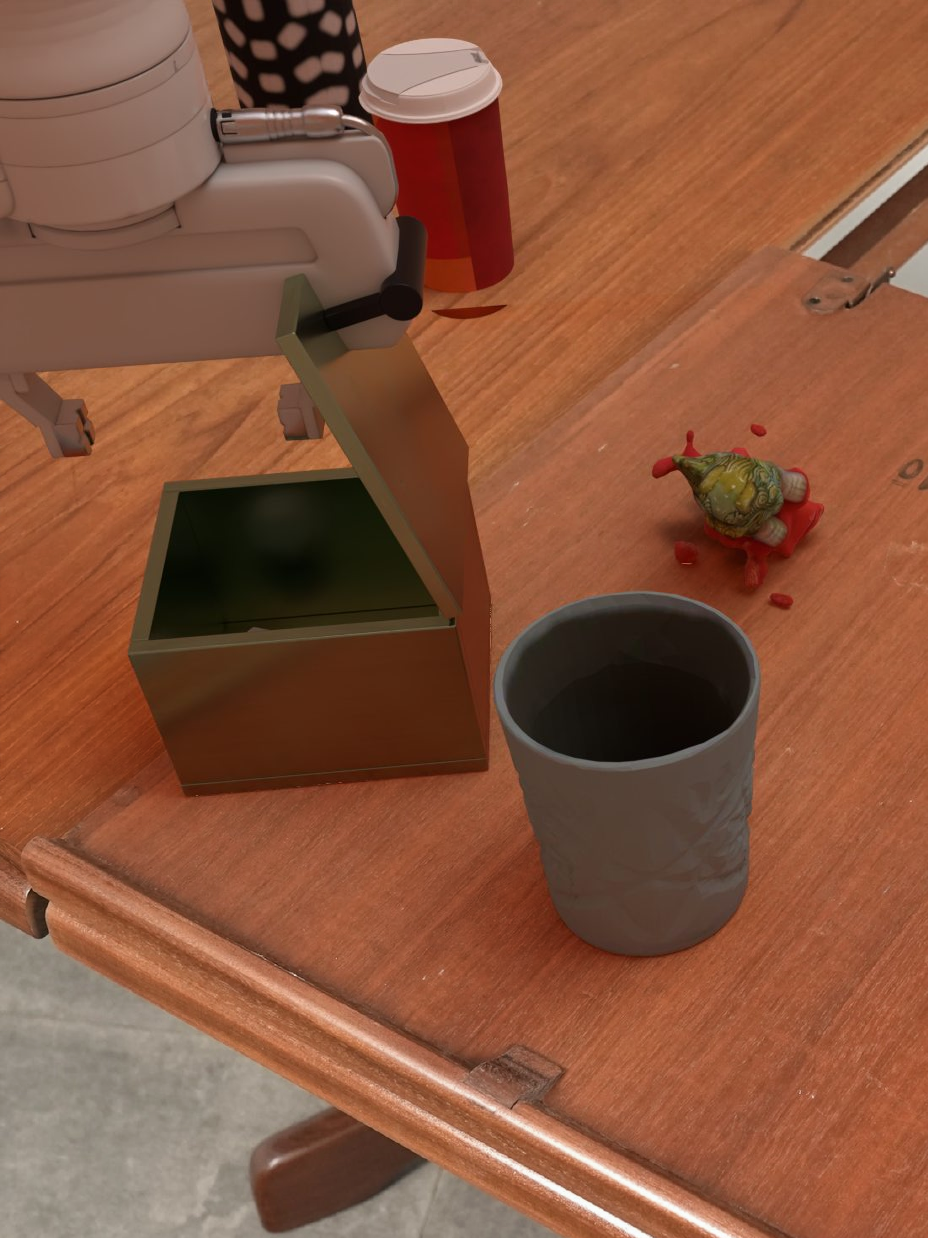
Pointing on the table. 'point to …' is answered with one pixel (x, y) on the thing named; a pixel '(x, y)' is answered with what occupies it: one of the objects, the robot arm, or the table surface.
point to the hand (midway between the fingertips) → (191, 440)
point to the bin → (304, 639)
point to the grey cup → (635, 764)
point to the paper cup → (447, 159)
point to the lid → (388, 415)
